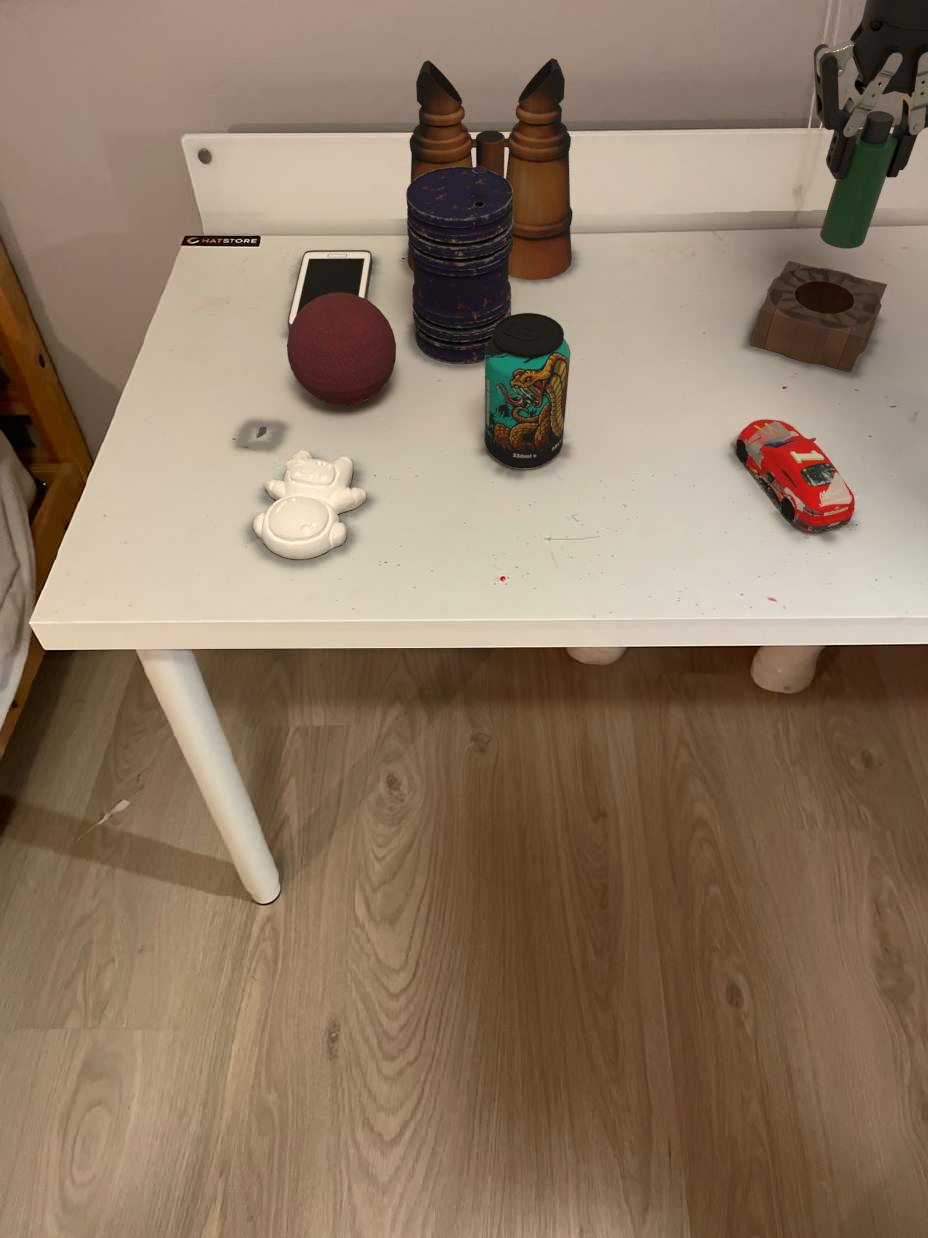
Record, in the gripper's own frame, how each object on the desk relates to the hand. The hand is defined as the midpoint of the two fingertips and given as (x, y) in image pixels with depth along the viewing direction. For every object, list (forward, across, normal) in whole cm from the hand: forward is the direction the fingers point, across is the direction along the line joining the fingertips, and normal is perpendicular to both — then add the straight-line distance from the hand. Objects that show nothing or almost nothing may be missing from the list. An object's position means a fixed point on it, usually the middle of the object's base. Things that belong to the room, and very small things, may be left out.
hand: (863, 173), depth 82 cm
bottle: (+6, 0, 0) cm, 6 cm away
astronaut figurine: (+16, -49, -22) cm, 57 cm away
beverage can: (+16, -31, -16) cm, 38 cm away
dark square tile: (+17, -55, -13) cm, 59 cm away
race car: (+16, -8, -22) cm, 29 cm away
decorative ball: (+16, -47, -7) cm, 50 cm away
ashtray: (+16, 0, 0) cm, 16 cm away
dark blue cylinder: (+16, -36, +2) cm, 39 cm away
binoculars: (+16, -32, +16) cm, 39 cm away
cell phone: (+16, -49, +10) cm, 53 cm away
